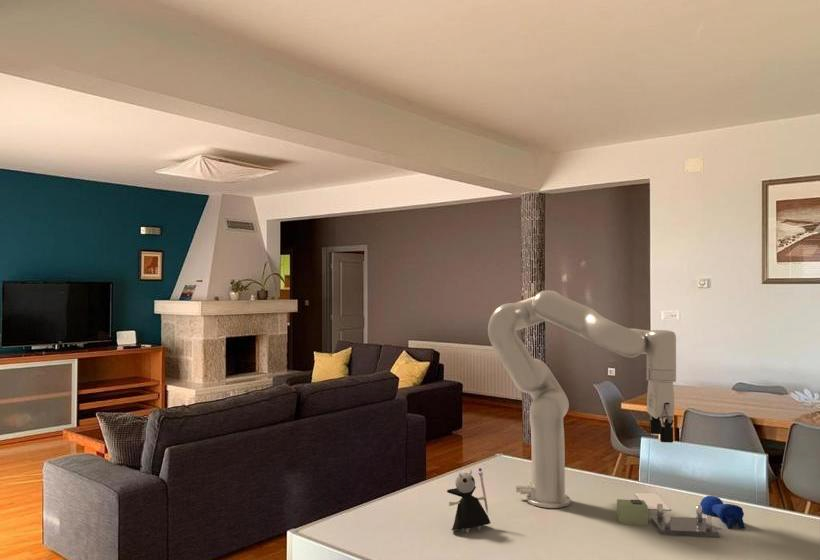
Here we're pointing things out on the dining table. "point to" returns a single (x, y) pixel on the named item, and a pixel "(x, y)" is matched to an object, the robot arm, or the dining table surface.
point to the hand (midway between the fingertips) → (661, 437)
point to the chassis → (684, 524)
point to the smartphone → (652, 500)
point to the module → (632, 511)
